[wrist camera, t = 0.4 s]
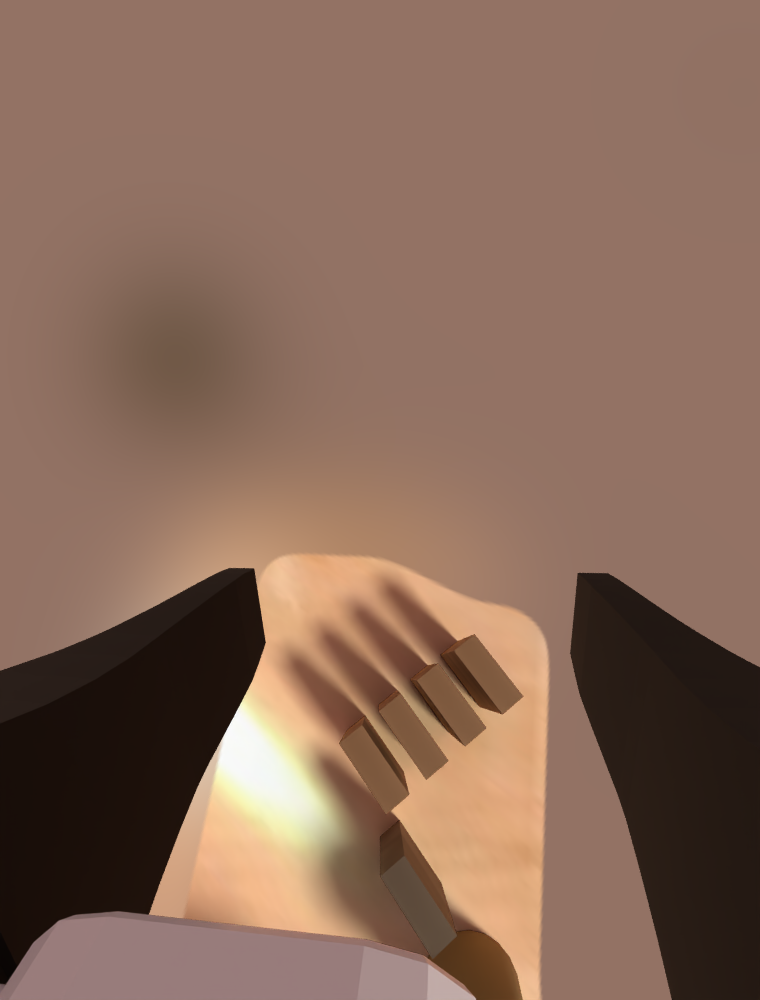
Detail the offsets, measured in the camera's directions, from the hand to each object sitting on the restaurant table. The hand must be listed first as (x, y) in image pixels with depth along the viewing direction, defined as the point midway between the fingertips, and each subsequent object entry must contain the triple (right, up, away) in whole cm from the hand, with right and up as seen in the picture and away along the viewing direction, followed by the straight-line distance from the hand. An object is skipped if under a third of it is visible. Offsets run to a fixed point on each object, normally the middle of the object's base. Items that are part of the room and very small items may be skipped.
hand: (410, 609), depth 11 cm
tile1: (+1, -21, +22) cm, 30 cm away
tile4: (+3, -12, +25) cm, 28 cm away
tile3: (+1, -13, +24) cm, 28 cm away
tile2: (-1, -15, +24) cm, 28 cm away
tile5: (+6, -10, +25) cm, 28 cm away
